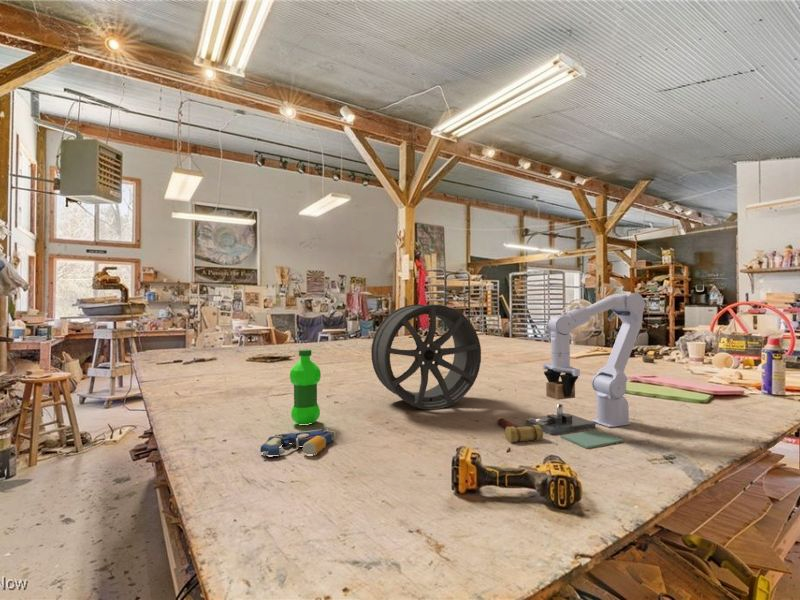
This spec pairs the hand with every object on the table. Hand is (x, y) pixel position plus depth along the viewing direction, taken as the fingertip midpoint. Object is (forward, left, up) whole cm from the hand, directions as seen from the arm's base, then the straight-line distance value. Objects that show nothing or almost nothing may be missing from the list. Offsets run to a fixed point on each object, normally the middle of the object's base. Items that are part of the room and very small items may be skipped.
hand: (560, 394), depth 132 cm
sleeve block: (0, 0, -1) cm, 1 cm away
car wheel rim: (+28, -44, -11) cm, 54 cm away
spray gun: (+82, -12, -11) cm, 84 cm away
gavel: (+18, -2, -11) cm, 21 cm away
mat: (+1, +13, -10) cm, 17 cm away
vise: (0, -1, -10) cm, 10 cm away
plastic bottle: (+77, -36, -11) cm, 85 cm away
